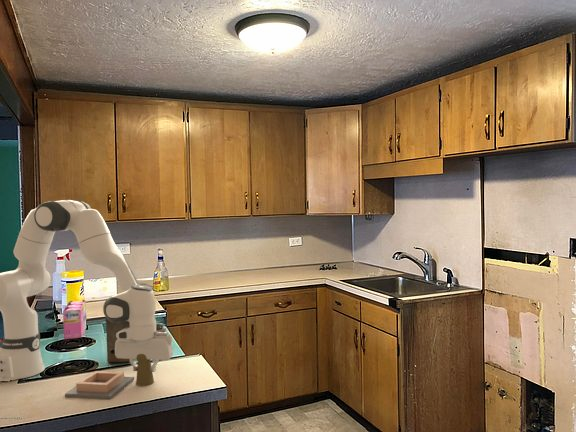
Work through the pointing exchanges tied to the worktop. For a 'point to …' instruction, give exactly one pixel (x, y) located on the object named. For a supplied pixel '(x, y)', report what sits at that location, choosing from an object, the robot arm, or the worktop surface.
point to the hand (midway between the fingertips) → (144, 371)
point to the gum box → (74, 319)
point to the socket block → (100, 385)
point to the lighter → (160, 328)
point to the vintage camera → (114, 340)
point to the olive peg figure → (144, 371)
